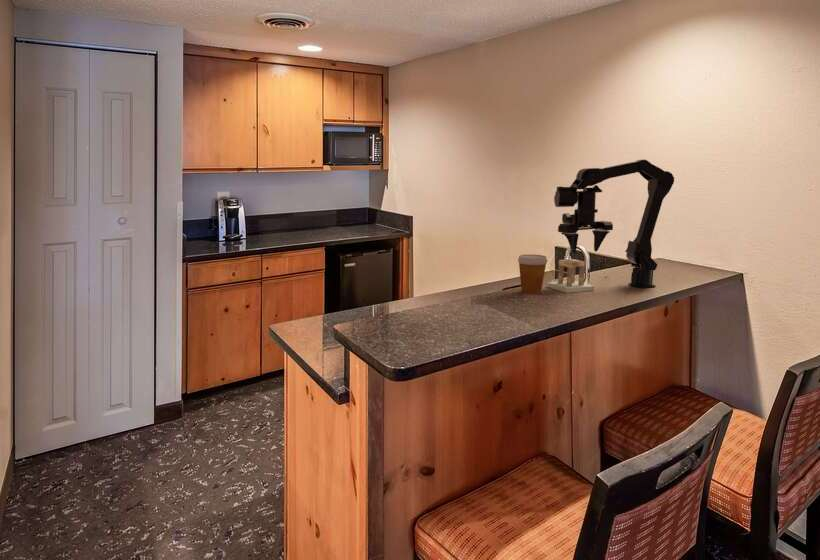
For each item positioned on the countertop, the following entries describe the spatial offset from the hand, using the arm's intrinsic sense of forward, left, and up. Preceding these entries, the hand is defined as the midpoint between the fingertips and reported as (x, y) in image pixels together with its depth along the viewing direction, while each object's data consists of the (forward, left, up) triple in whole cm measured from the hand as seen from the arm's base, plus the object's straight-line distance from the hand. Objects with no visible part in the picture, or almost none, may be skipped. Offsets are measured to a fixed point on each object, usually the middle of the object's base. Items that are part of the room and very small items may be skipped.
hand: (584, 252), depth 194 cm
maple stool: (+6, +1, -10) cm, 12 cm away
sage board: (+6, +1, -12) cm, 14 cm away
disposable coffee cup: (+22, +2, -12) cm, 25 cm away
